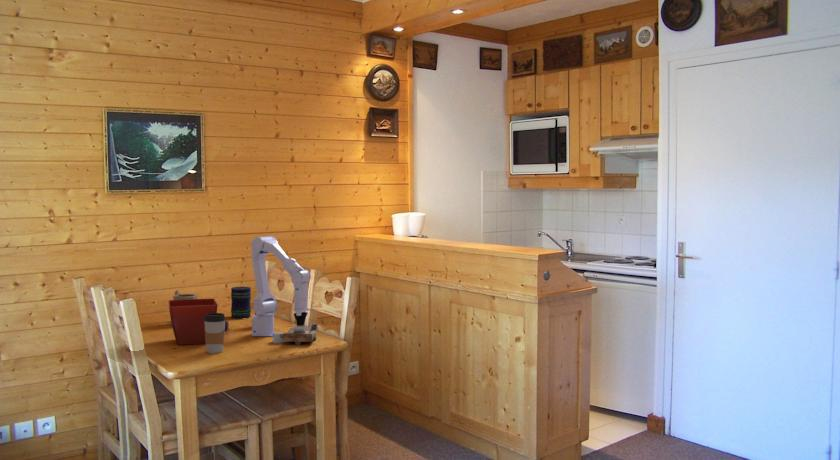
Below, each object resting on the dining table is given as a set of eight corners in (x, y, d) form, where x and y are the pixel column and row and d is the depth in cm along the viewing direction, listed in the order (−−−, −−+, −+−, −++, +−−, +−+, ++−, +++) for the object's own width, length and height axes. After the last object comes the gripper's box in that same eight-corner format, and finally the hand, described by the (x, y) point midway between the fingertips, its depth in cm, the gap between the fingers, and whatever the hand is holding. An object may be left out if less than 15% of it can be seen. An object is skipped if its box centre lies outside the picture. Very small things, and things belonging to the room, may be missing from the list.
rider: (294, 335, 299) (294, 326, 299) (295, 333, 303) (295, 324, 303) (303, 335, 299) (303, 326, 299) (304, 333, 303) (304, 324, 303)
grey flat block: (281, 345, 294) (282, 332, 294) (289, 334, 316) (289, 322, 316) (313, 345, 295) (313, 332, 295) (318, 334, 317) (318, 322, 317)
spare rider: (274, 343, 297) (274, 334, 297) (272, 341, 301) (272, 332, 301) (283, 343, 299) (283, 333, 298) (281, 341, 302) (281, 332, 302)
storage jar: (248, 319, 351) (248, 289, 351) (228, 318, 352) (228, 289, 351) (253, 315, 361) (253, 286, 361) (234, 315, 362) (234, 286, 361)
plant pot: (168, 338, 304) (168, 299, 303) (214, 335, 311) (214, 297, 310) (169, 347, 286) (169, 306, 285) (217, 344, 293) (217, 304, 292)
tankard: (202, 325, 334) (202, 294, 333) (175, 327, 327) (175, 295, 326) (190, 318, 350) (190, 288, 350) (164, 320, 343) (164, 290, 342)
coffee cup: (206, 349, 284) (206, 312, 283) (227, 349, 284) (227, 312, 284) (201, 354, 275) (201, 316, 275) (223, 354, 276) (223, 316, 275)
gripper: (308, 300, 296) (308, 332, 297) (312, 295, 311) (311, 326, 312) (291, 300, 296) (291, 332, 297) (296, 295, 310) (295, 326, 311)
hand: (300, 329), depth 304 cm, fingers closed
